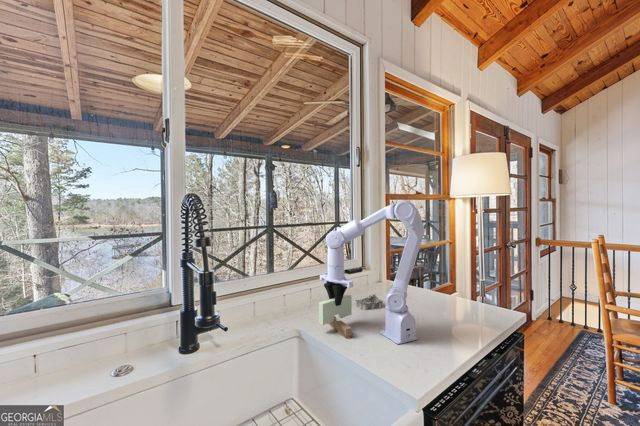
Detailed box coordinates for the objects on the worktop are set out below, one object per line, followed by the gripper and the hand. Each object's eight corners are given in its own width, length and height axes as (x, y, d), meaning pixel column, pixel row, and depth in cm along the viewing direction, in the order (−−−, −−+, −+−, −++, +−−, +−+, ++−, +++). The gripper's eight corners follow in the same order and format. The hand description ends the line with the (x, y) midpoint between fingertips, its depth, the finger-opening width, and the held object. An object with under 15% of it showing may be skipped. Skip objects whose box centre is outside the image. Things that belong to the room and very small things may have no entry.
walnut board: (351, 337, 95) (351, 328, 95) (346, 338, 94) (346, 329, 94) (326, 318, 111) (326, 310, 111) (322, 319, 110) (322, 311, 110)
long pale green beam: (347, 313, 108) (347, 294, 108) (351, 314, 106) (351, 295, 106) (318, 323, 99) (318, 302, 98) (322, 325, 97) (322, 304, 97)
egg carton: (375, 303, 130) (376, 293, 130) (384, 308, 123) (384, 298, 122) (353, 305, 126) (353, 296, 126) (361, 311, 119) (361, 301, 119)
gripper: (359, 266, 99) (359, 306, 100) (329, 261, 110) (329, 297, 110) (344, 269, 95) (344, 311, 95) (315, 263, 105) (315, 301, 106)
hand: (335, 304), depth 102 cm, fingers closed on long pale green beam, 2 cm apart
